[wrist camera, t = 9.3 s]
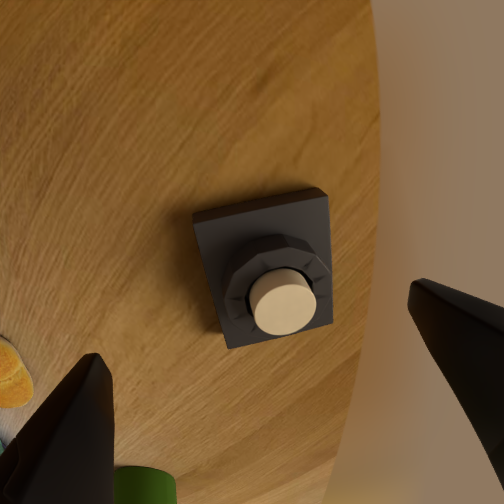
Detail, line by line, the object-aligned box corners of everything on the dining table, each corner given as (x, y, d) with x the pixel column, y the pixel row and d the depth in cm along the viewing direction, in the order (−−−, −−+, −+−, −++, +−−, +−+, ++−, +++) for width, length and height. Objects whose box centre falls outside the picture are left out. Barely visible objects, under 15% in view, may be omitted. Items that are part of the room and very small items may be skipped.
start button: (305, 261, 19) (314, 277, 17) (308, 309, 20) (317, 326, 19) (244, 275, 18) (249, 293, 17) (254, 322, 20) (259, 341, 19)
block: (318, 187, 20) (340, 205, 17) (325, 309, 25) (342, 339, 22) (192, 213, 19) (192, 237, 16) (225, 334, 24) (230, 367, 21)
